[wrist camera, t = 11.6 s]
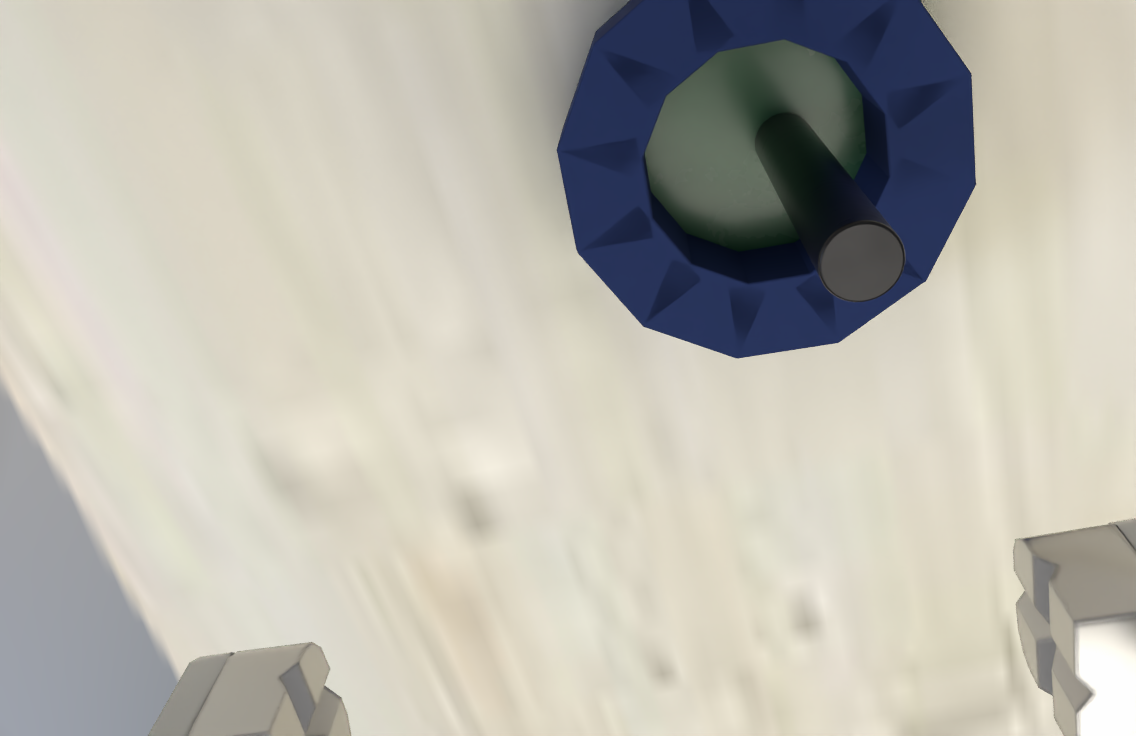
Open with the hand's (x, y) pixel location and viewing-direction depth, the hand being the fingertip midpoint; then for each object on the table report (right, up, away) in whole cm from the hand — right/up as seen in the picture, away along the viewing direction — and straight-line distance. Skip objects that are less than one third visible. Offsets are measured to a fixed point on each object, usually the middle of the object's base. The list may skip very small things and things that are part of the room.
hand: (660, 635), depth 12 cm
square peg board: (+6, +11, +22) cm, 25 cm away
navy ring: (+5, +10, +21) cm, 24 cm away
